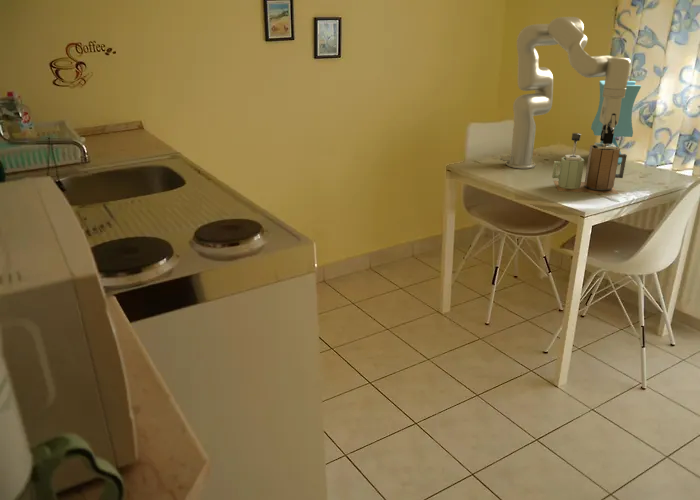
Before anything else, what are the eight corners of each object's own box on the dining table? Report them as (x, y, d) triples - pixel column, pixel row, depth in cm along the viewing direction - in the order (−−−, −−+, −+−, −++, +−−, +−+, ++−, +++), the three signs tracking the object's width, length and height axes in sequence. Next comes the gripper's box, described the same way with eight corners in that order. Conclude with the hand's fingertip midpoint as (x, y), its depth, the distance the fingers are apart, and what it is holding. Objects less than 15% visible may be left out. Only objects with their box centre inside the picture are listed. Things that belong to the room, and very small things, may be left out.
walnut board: (557, 193, 223) (558, 190, 222) (553, 183, 235) (553, 180, 235) (618, 196, 219) (618, 193, 218) (610, 186, 231) (610, 183, 231)
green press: (552, 188, 225) (556, 158, 220) (550, 182, 232) (553, 153, 228) (581, 189, 223) (585, 159, 218) (577, 183, 230) (582, 154, 226)
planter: (627, 165, 260) (641, 85, 246) (590, 163, 264) (602, 84, 250) (621, 157, 274) (635, 81, 260) (586, 155, 277) (598, 80, 264)
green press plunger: (566, 167, 223) (571, 134, 218) (564, 164, 227) (569, 132, 222) (578, 168, 222) (584, 135, 217) (577, 165, 226) (581, 132, 221)
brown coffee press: (587, 190, 222) (594, 147, 215) (582, 183, 231) (589, 141, 224) (623, 192, 220) (631, 148, 213) (617, 184, 229) (624, 142, 222)
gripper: (598, 89, 219) (591, 137, 227) (608, 96, 204) (599, 147, 211) (619, 89, 218) (611, 137, 225) (630, 96, 203) (621, 147, 210)
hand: (606, 141), depth 218 cm, fingers open, 4 cm apart
